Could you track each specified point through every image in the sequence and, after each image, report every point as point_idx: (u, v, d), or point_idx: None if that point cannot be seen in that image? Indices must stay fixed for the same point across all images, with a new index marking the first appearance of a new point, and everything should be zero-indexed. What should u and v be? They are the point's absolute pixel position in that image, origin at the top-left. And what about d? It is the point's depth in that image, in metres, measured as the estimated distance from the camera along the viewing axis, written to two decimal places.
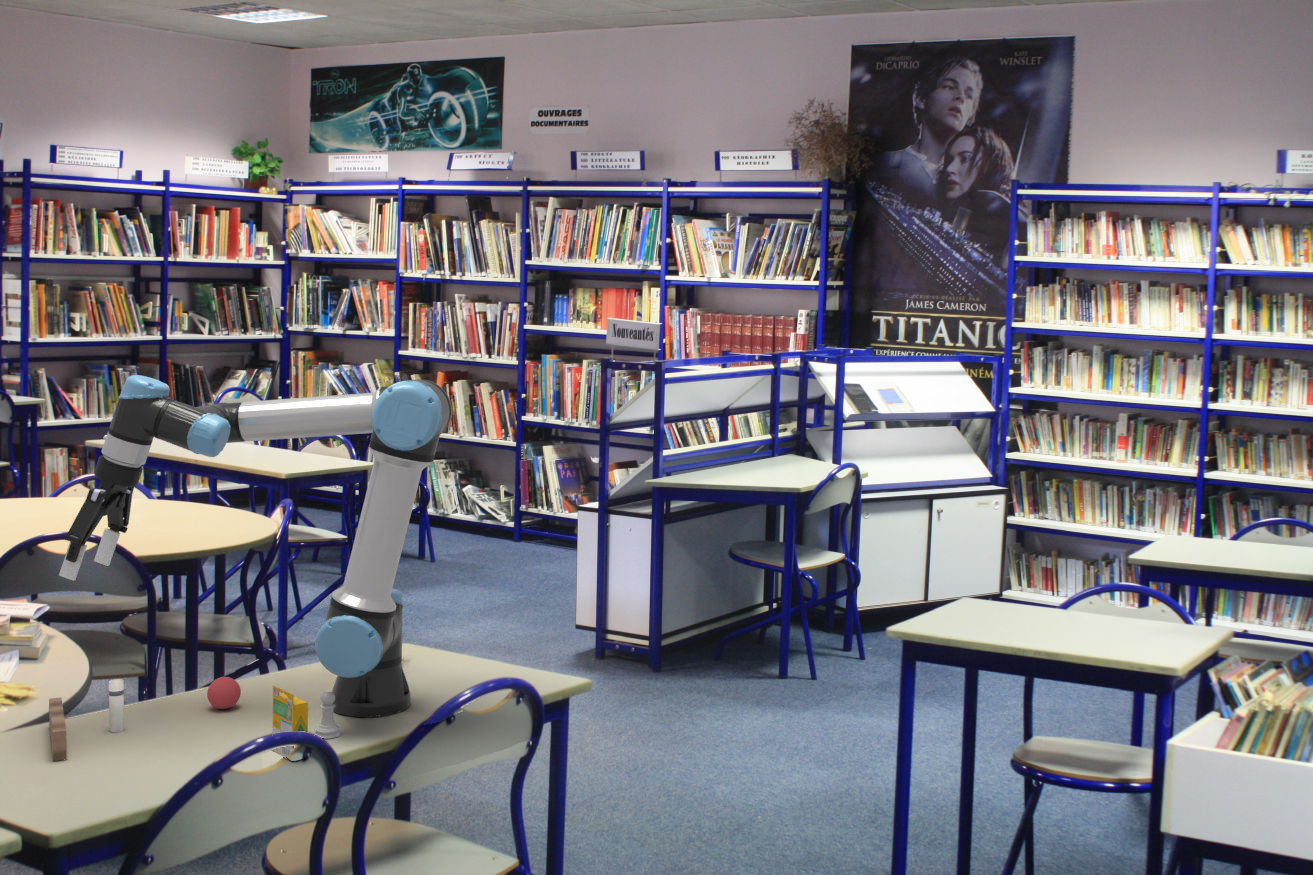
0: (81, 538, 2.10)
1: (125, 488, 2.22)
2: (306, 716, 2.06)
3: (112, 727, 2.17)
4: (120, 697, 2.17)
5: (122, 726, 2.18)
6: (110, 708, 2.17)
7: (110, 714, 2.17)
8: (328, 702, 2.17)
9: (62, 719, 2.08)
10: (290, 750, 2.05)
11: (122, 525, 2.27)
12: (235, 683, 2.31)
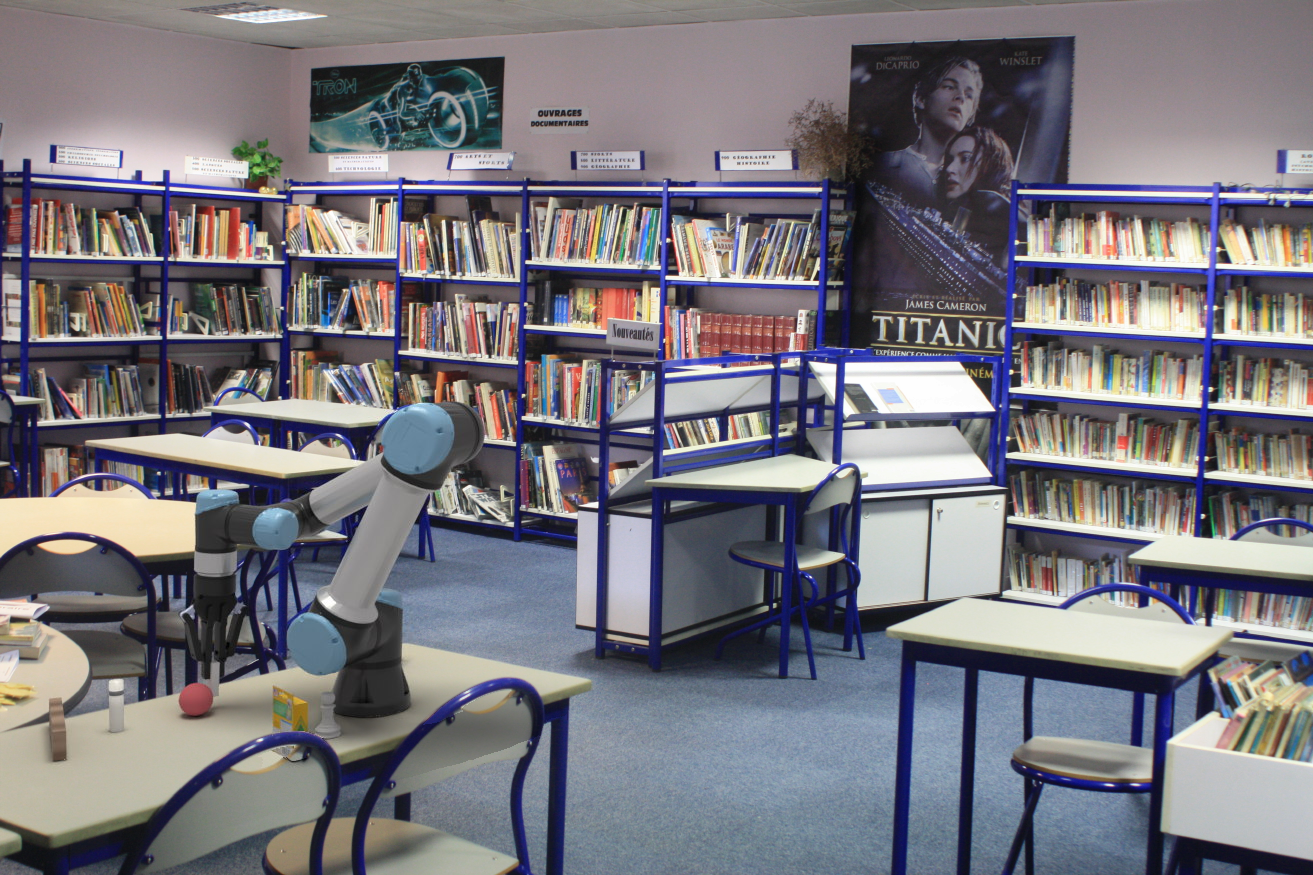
0: (197, 656, 2.28)
1: (233, 600, 2.31)
2: (306, 716, 2.06)
3: (112, 727, 2.17)
4: (120, 697, 2.17)
5: (122, 726, 2.18)
6: (110, 708, 2.17)
7: (110, 714, 2.17)
8: (328, 702, 2.17)
9: (62, 719, 2.08)
10: (290, 750, 2.05)
11: (223, 654, 2.31)
12: (190, 698, 2.25)
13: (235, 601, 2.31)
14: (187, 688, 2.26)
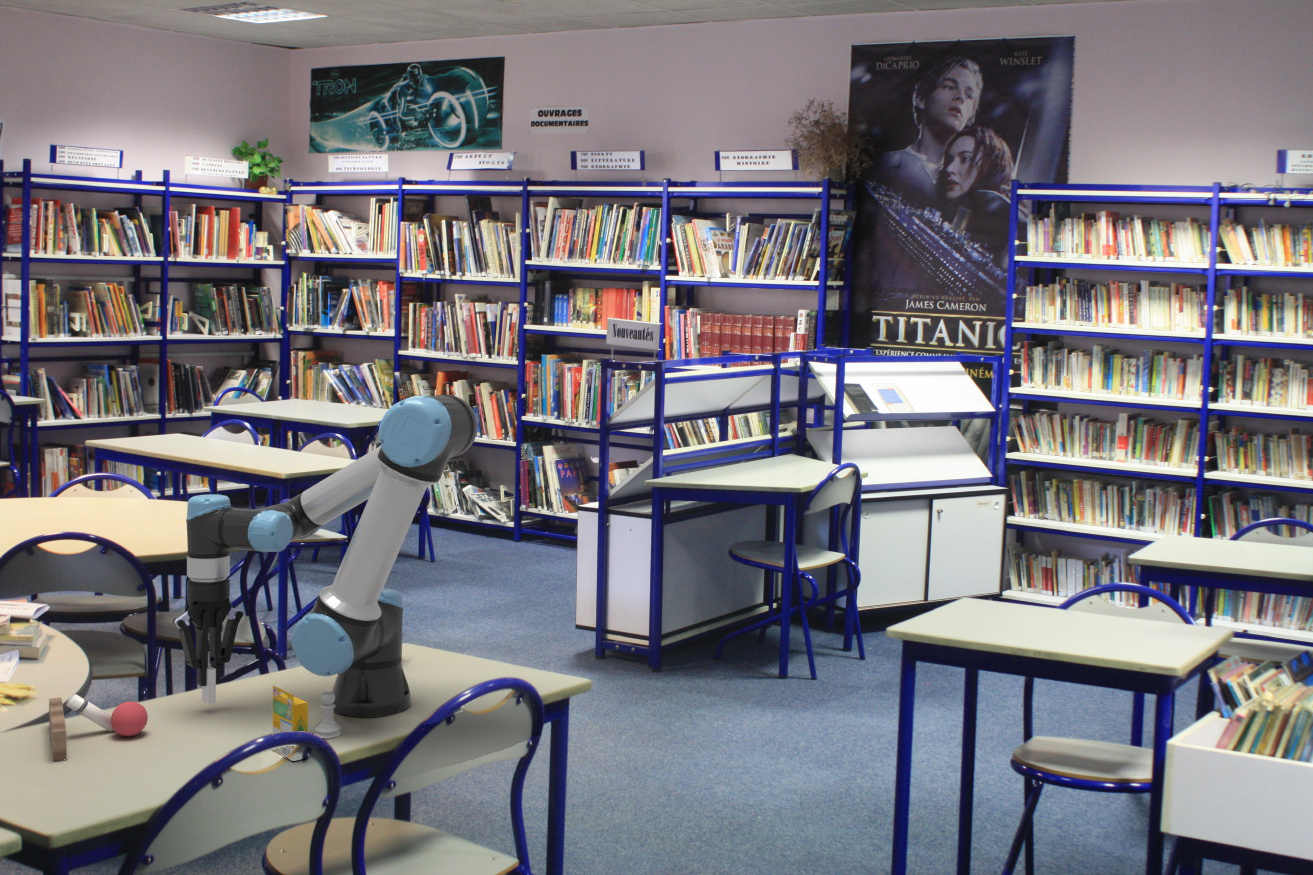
0: (193, 663, 2.26)
1: (227, 605, 2.30)
2: (306, 716, 2.06)
3: (107, 728, 2.16)
4: (88, 707, 2.14)
5: None
6: (90, 719, 2.15)
7: (95, 722, 2.15)
8: (328, 702, 2.17)
9: (62, 719, 2.08)
10: (290, 750, 2.05)
11: (219, 660, 2.29)
12: (142, 709, 2.15)
13: (229, 606, 2.30)
14: None
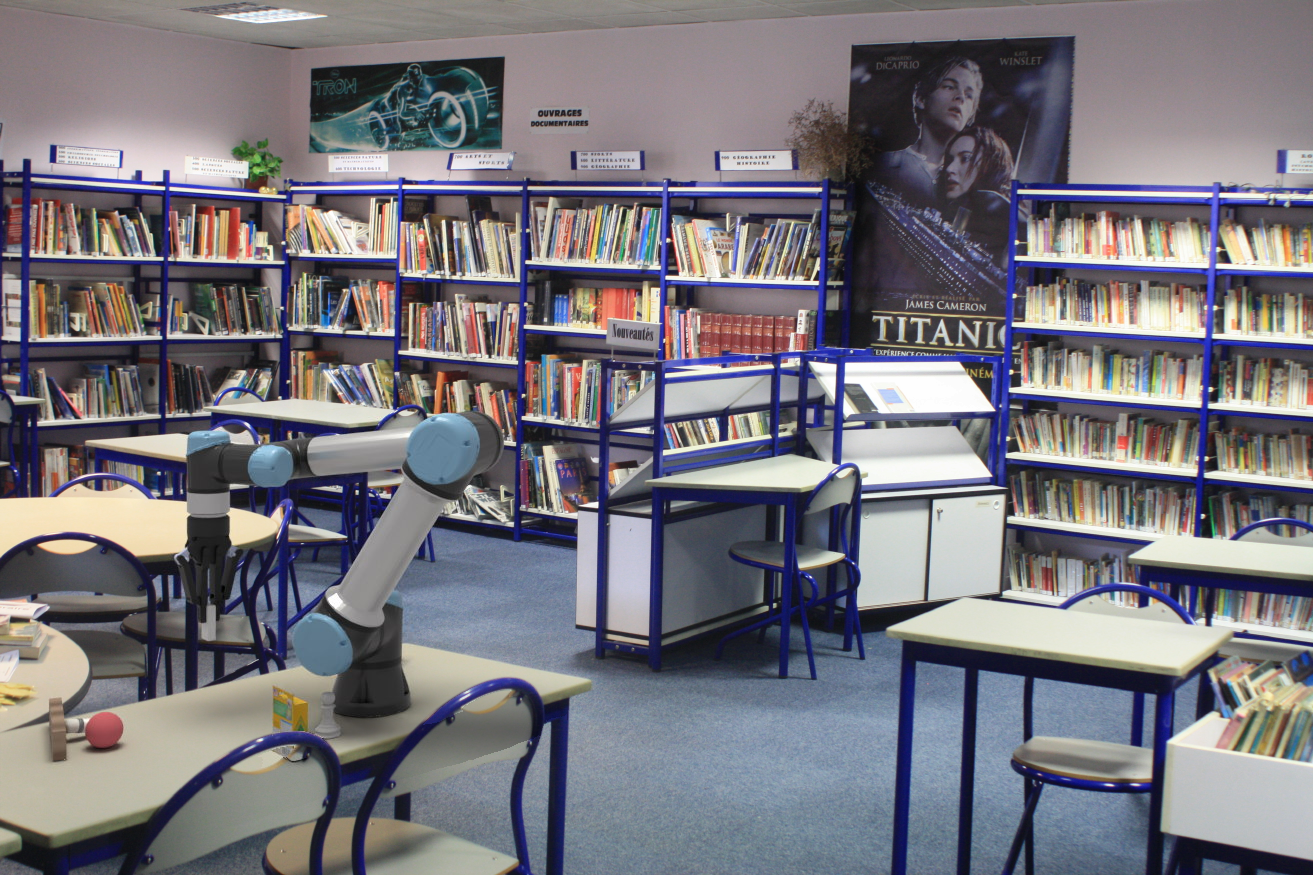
0: (193, 599, 2.25)
1: (227, 542, 2.29)
2: (306, 716, 2.06)
3: None
4: None
5: None
6: None
7: None
8: (328, 702, 2.17)
9: (62, 719, 2.08)
10: (290, 750, 2.05)
11: (219, 597, 2.28)
12: (109, 737, 2.07)
13: (229, 543, 2.29)
14: (97, 729, 2.06)
